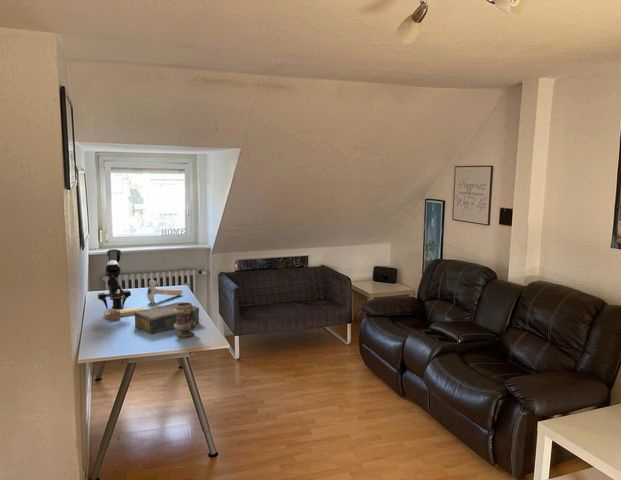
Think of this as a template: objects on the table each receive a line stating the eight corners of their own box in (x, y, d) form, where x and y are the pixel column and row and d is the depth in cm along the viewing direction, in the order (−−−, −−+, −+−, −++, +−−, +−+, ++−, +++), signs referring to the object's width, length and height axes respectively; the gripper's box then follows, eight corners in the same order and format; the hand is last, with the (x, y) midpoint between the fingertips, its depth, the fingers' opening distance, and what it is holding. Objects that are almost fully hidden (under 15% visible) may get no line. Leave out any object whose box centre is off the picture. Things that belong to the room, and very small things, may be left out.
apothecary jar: (186, 330, 281) (185, 300, 279) (200, 334, 274) (199, 303, 272) (169, 336, 271) (168, 304, 269) (184, 340, 264) (182, 307, 262)
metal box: (200, 323, 296) (200, 307, 295) (150, 335, 273) (149, 318, 272) (182, 316, 311) (182, 301, 310) (133, 327, 288) (132, 311, 287)
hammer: (179, 281, 369) (148, 280, 343) (183, 282, 366) (153, 280, 341) (176, 302, 368) (145, 302, 342) (181, 303, 365) (149, 303, 339)
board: (104, 316, 312) (104, 312, 311) (143, 310, 324) (142, 306, 324) (106, 318, 306) (105, 314, 306) (145, 313, 318) (145, 309, 318)
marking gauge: (109, 316, 311) (108, 307, 310) (117, 315, 313) (117, 306, 312) (112, 320, 302) (111, 311, 302) (120, 319, 305) (120, 310, 304)
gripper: (99, 288, 292) (101, 313, 294) (132, 284, 301) (133, 309, 303) (96, 284, 301) (98, 309, 303) (128, 281, 311) (129, 305, 313)
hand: (115, 308), depth 305 cm, fingers open, 9 cm apart
